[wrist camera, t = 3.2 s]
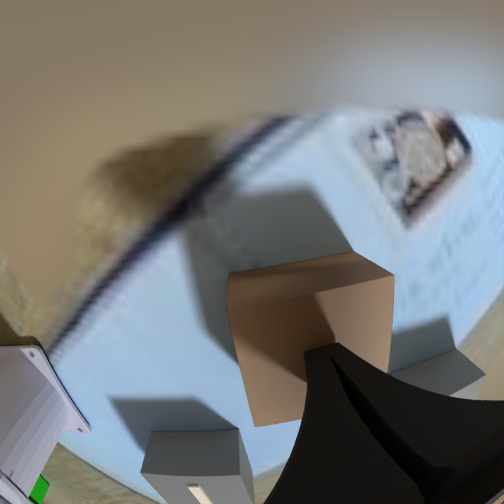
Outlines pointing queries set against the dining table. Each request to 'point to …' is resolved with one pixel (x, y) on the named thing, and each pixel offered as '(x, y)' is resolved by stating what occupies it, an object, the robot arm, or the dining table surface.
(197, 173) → the dining table surface
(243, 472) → the slate block
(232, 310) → the walnut block
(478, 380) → the slate block
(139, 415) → the dining table surface
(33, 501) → the puzzle cube
